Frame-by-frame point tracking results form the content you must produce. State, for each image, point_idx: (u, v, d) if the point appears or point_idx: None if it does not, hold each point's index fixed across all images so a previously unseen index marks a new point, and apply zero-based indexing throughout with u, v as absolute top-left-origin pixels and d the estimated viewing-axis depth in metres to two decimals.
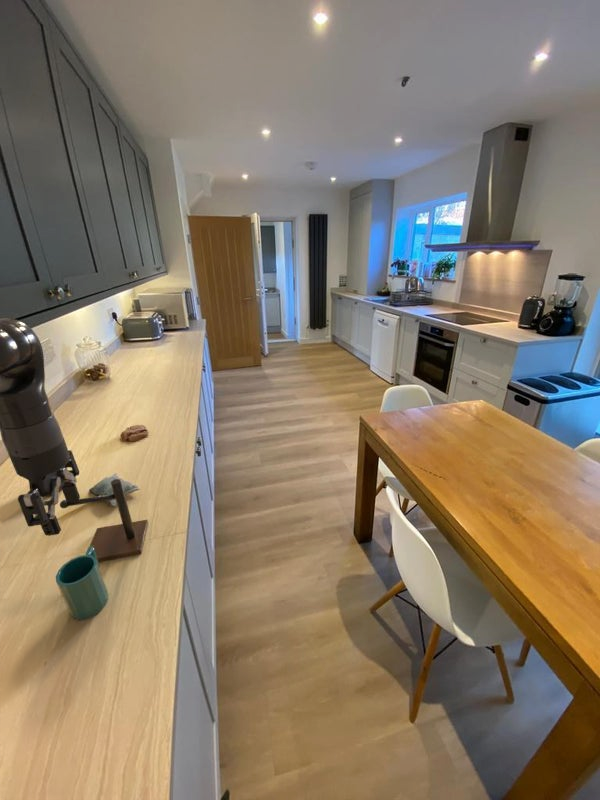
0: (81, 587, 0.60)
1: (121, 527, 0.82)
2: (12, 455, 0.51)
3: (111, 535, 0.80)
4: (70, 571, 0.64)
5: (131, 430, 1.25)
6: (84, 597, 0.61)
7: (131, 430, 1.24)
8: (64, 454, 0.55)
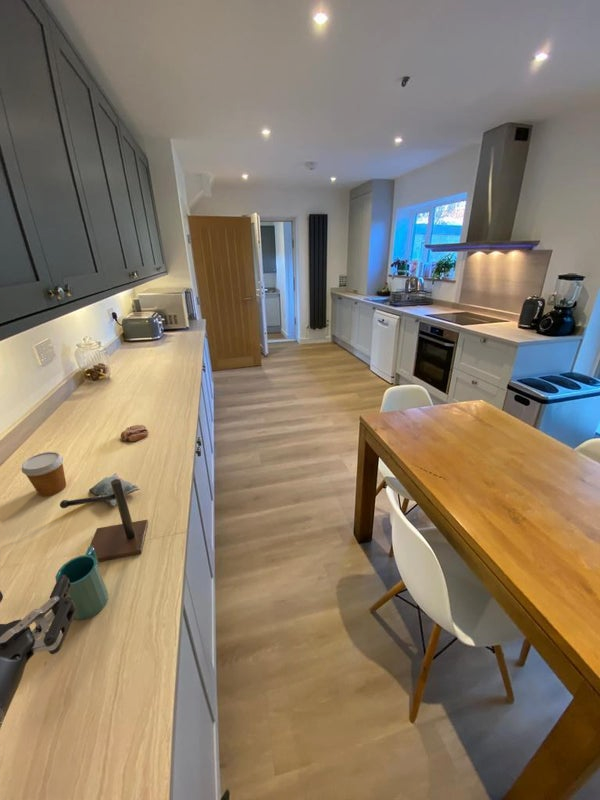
0: (81, 587, 0.60)
1: (121, 527, 0.82)
2: None
3: (111, 535, 0.80)
4: (70, 571, 0.64)
5: (131, 430, 1.25)
6: (84, 597, 0.61)
7: (131, 430, 1.24)
8: None
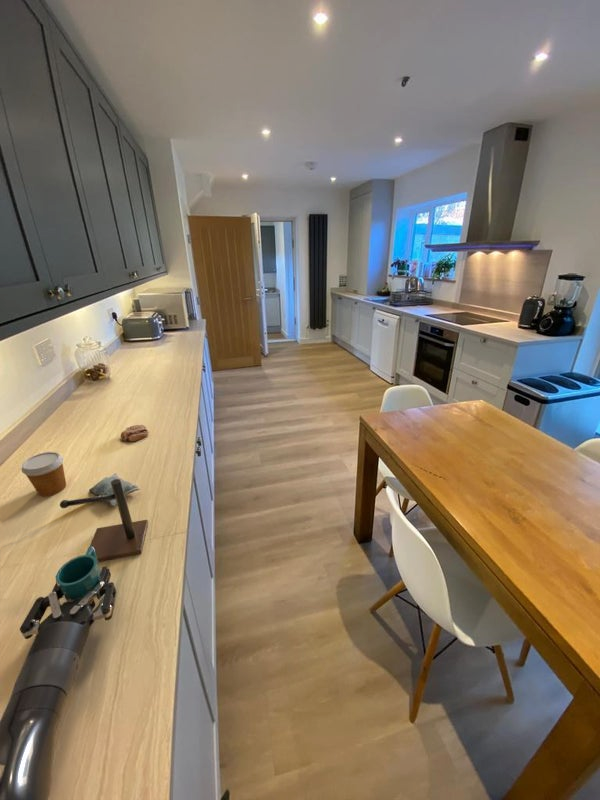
0: (81, 587, 0.60)
1: (121, 527, 0.82)
2: None
3: (111, 535, 0.80)
4: (70, 571, 0.64)
5: (131, 430, 1.25)
6: None
7: (131, 430, 1.24)
8: None
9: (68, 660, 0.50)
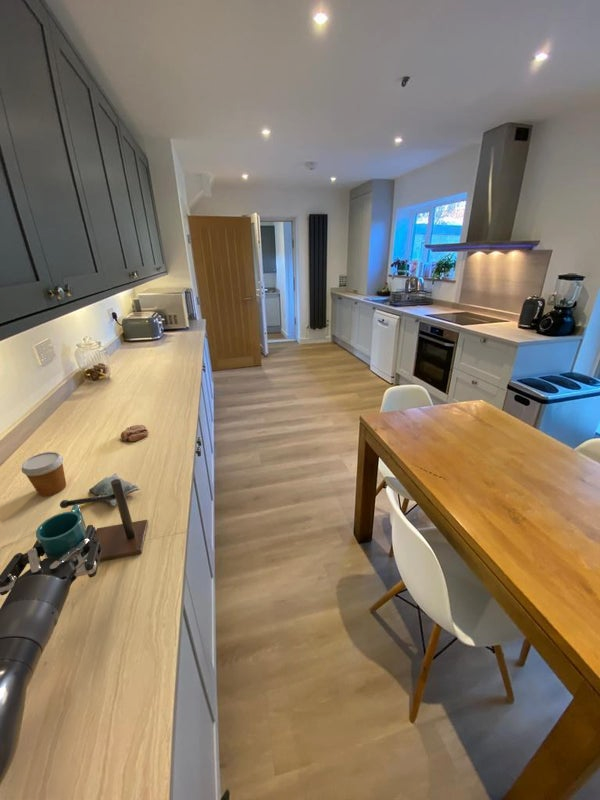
0: (63, 543, 0.55)
1: (121, 527, 0.82)
2: None
3: (111, 535, 0.80)
4: (52, 528, 0.59)
5: (131, 430, 1.25)
6: None
7: (131, 430, 1.24)
8: None
9: (45, 613, 0.45)
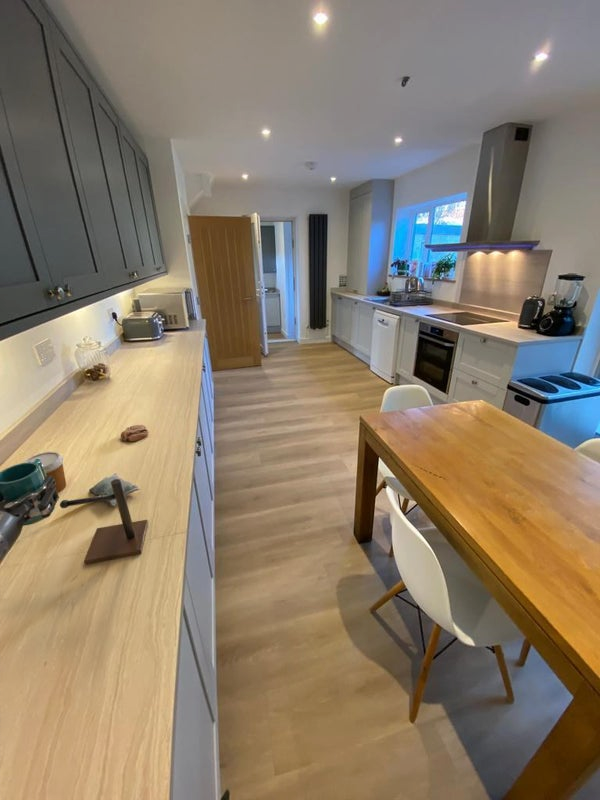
0: (20, 487, 0.59)
1: (121, 527, 0.82)
2: None
3: (111, 535, 0.80)
4: (12, 477, 0.63)
5: (131, 430, 1.25)
6: None
7: (131, 430, 1.24)
8: None
9: None
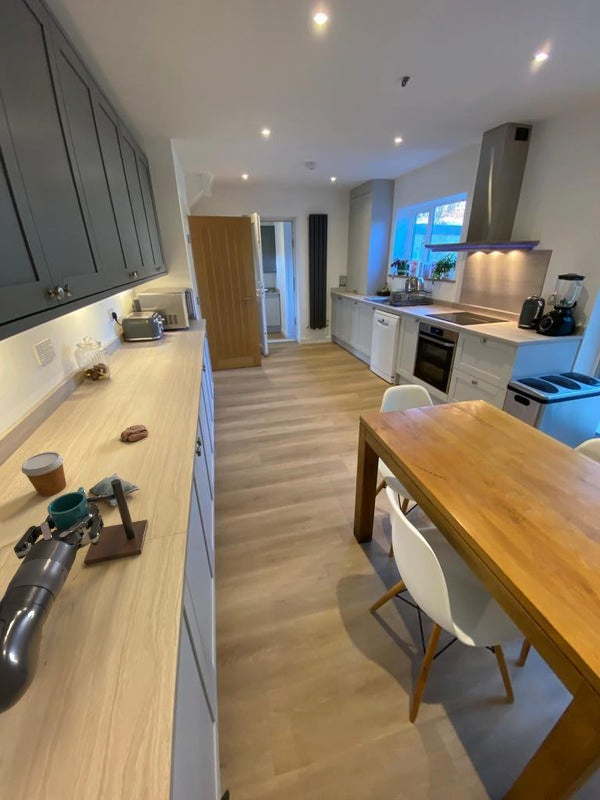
0: (71, 517, 0.65)
1: (121, 527, 0.82)
2: (16, 572, 0.54)
3: (111, 535, 0.80)
4: (61, 506, 0.69)
5: (131, 430, 1.25)
6: None
7: (131, 430, 1.24)
8: None
9: (56, 570, 0.55)
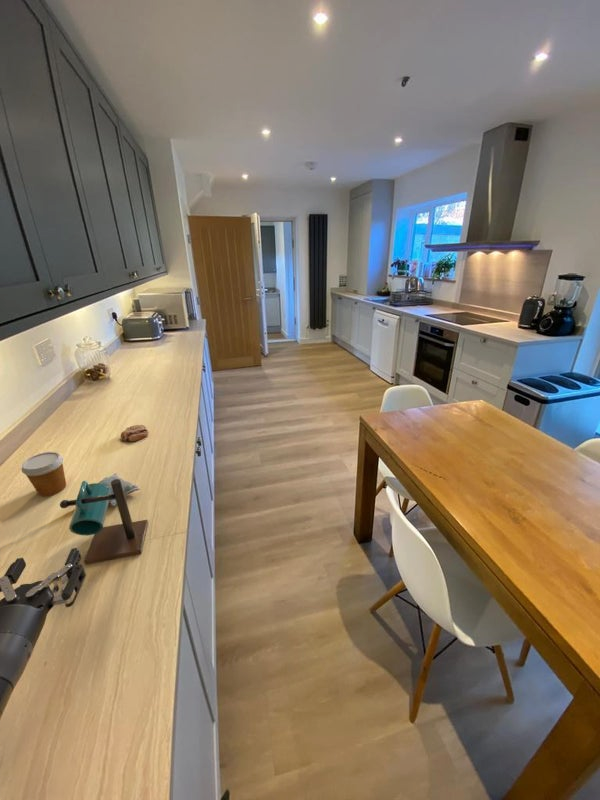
0: None
1: (121, 527, 0.82)
2: None
3: (111, 535, 0.80)
4: None
5: (131, 430, 1.25)
6: None
7: (131, 430, 1.24)
8: None
9: (17, 647, 0.43)
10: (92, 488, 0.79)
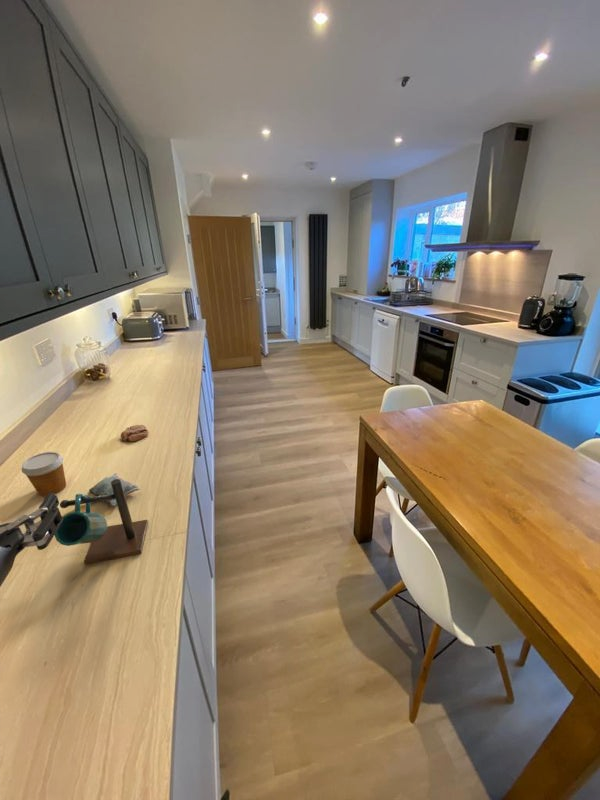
0: (82, 542, 0.68)
1: (121, 527, 0.82)
2: None
3: (111, 535, 0.80)
4: (65, 521, 0.70)
5: (131, 430, 1.25)
6: (86, 541, 0.71)
7: (131, 430, 1.24)
8: None
9: None
10: None
